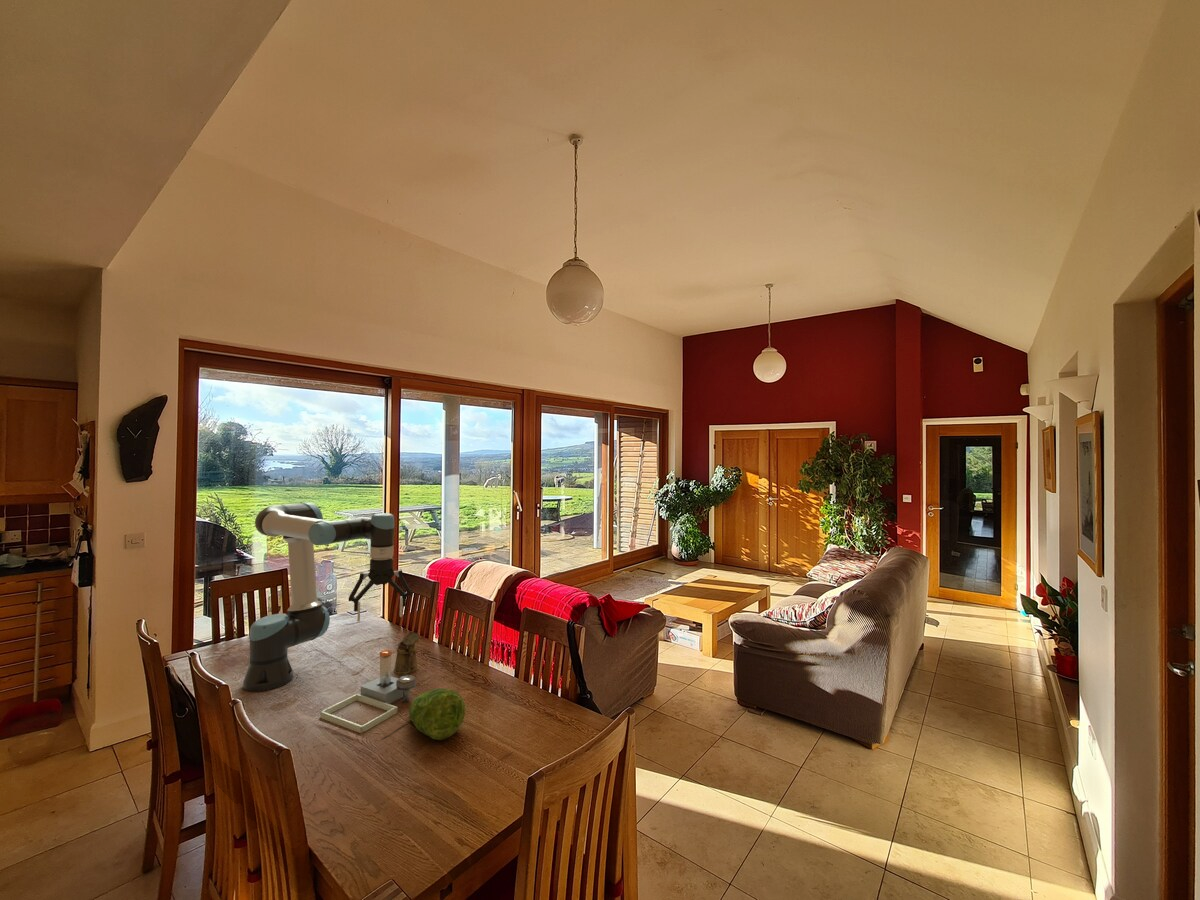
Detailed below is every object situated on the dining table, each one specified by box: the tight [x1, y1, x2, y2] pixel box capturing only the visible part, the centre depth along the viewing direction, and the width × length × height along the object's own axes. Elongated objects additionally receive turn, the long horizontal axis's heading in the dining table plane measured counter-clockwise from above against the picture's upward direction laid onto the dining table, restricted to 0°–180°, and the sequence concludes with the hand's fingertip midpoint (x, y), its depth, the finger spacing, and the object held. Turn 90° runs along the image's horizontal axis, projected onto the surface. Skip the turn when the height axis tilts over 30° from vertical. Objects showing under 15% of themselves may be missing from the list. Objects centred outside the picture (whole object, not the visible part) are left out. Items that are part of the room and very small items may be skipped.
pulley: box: [396, 674, 418, 703], centre depth 166 cm, size 6×6×8 cm
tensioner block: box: [360, 675, 403, 705], centre depth 169 cm, size 12×10×5 cm
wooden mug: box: [393, 631, 421, 676], centre depth 188 cm, size 9×14×18 cm, turn 36°
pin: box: [379, 649, 393, 688], centre depth 169 cm, size 4×4×15 cm
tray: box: [319, 693, 398, 738], centre depth 157 cm, size 19×13×3 cm
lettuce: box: [408, 687, 466, 741], centre depth 152 cm, size 14×23×13 cm, turn 43°
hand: (380, 618), depth 173 cm, fingers open, 13 cm apart
